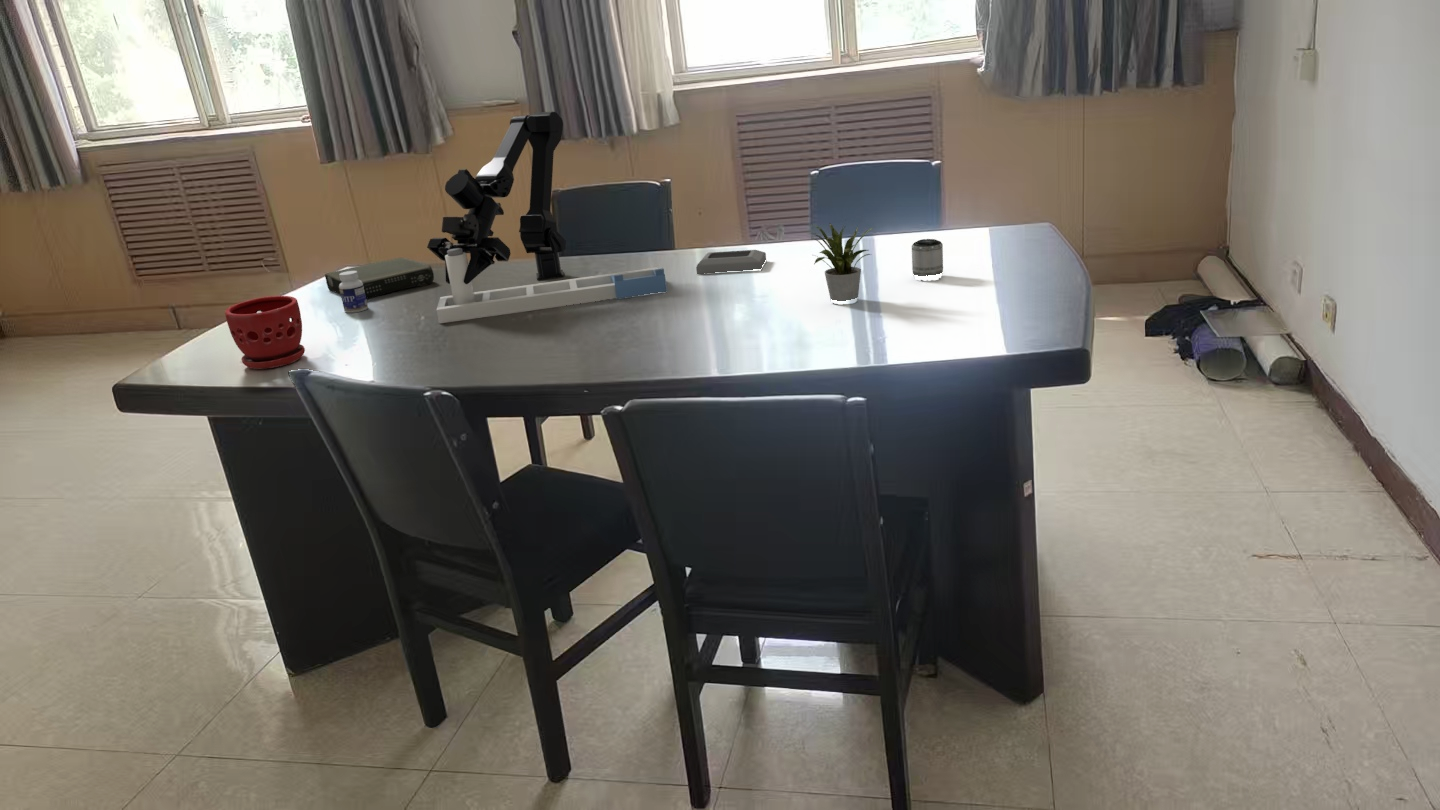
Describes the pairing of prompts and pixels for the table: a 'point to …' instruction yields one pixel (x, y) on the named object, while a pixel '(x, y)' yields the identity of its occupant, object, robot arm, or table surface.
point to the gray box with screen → (731, 261)
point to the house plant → (841, 266)
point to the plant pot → (267, 331)
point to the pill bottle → (352, 292)
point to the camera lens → (927, 257)
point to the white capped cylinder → (459, 276)
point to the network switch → (386, 276)
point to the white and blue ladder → (554, 294)
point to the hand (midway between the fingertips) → (456, 283)
